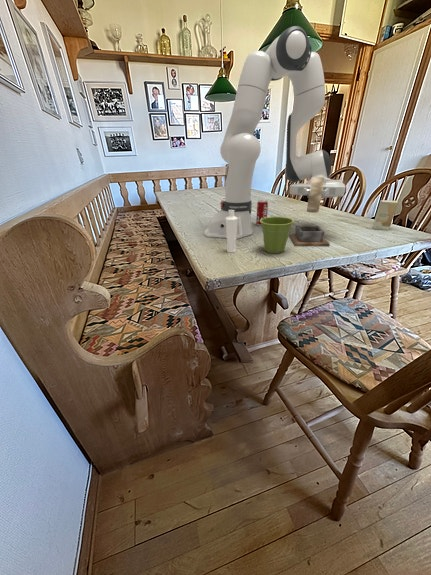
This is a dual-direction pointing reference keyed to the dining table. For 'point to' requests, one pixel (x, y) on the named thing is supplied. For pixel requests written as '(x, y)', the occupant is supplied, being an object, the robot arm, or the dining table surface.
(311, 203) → the birch peg
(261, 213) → the soda can
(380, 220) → the skincare box
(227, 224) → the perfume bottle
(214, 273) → the dining table surface
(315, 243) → the bottle holder
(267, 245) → the plant pot
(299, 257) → the dining table surface
